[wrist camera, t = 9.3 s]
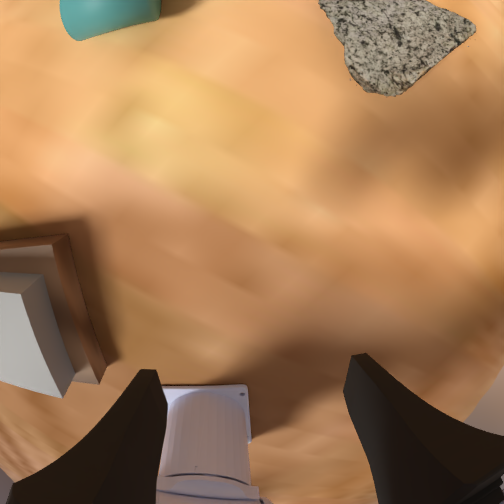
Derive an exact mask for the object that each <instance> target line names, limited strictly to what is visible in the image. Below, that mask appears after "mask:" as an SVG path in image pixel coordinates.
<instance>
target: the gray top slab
mask: <svg viewBox="0 0 504 504" xmlns="http://www.w3.org/2000/svg"><path fill="white" fill-rule="evenodd" d="M74 376H75V371H74V369H73V366H72V364H71V361H70V359H69V356H68V354H67V351H66V348H65V345H64V343H63V340H62V337H61V334H60V331H59V328H58V325H57V322H56V319H55V316H54V312H53V309H52V306H51V302H50V299H49V295H48V291H47V287H46V284H45V280H44V275H43V274H27V273H8V272H0V381H3V382H6V383H9V384H12V385H15V386H18V387H22V388H25V389H28V390H32V391H35V392H39V393H43V394H47V395H50V396H54V397H59V398H63V397H64V395H65V393H66V391H67V389H68V387H69V385H70V384H71V382H72V380H73V378H74Z"/></svg>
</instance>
